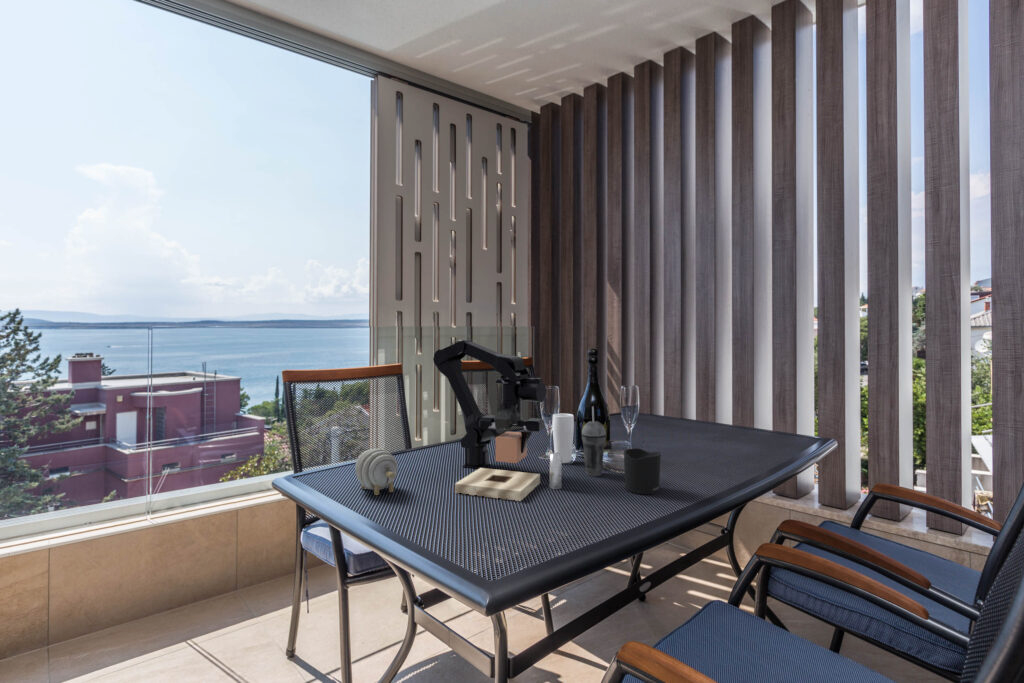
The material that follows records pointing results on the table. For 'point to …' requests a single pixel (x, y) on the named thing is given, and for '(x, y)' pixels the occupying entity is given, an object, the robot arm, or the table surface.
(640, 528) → the table surface
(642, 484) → the pen holder
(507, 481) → the pin board
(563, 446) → the drinking glass
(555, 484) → the steel pin
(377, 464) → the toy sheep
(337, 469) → the table surface
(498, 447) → the block
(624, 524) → the table surface
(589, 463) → the beverage cup
